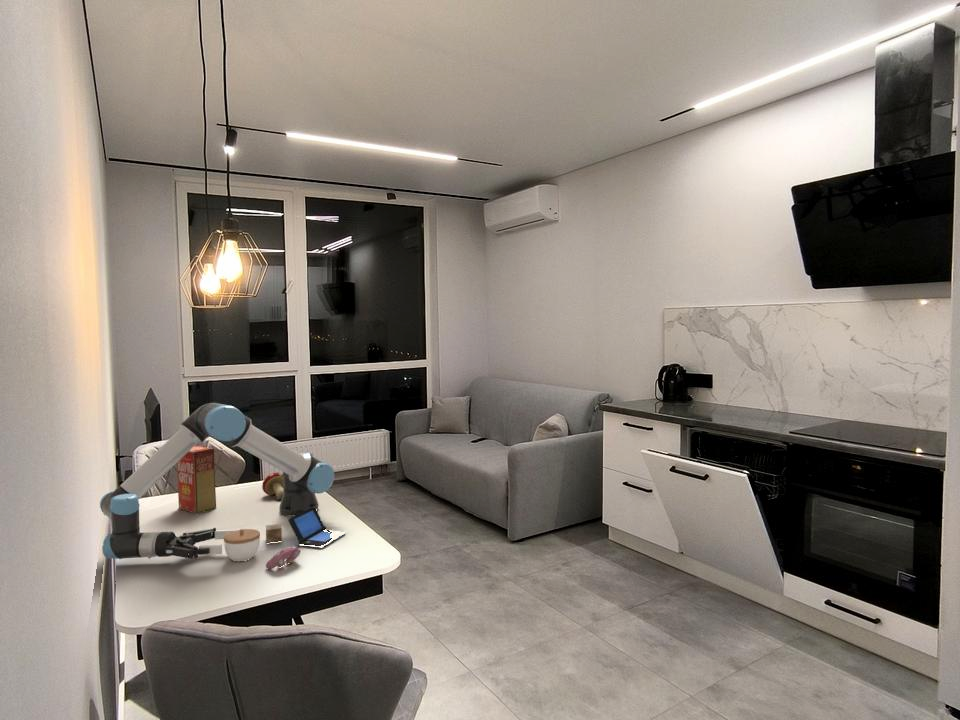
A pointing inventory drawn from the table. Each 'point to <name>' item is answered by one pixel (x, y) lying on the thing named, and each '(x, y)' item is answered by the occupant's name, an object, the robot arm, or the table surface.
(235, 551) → the lidded jar
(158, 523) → the table surface
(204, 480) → the food packaging
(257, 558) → the table surface
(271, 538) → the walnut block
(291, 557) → the video game controller
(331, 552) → the table surface
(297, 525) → the handheld game console
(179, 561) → the table surface
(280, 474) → the decorative mushroom
